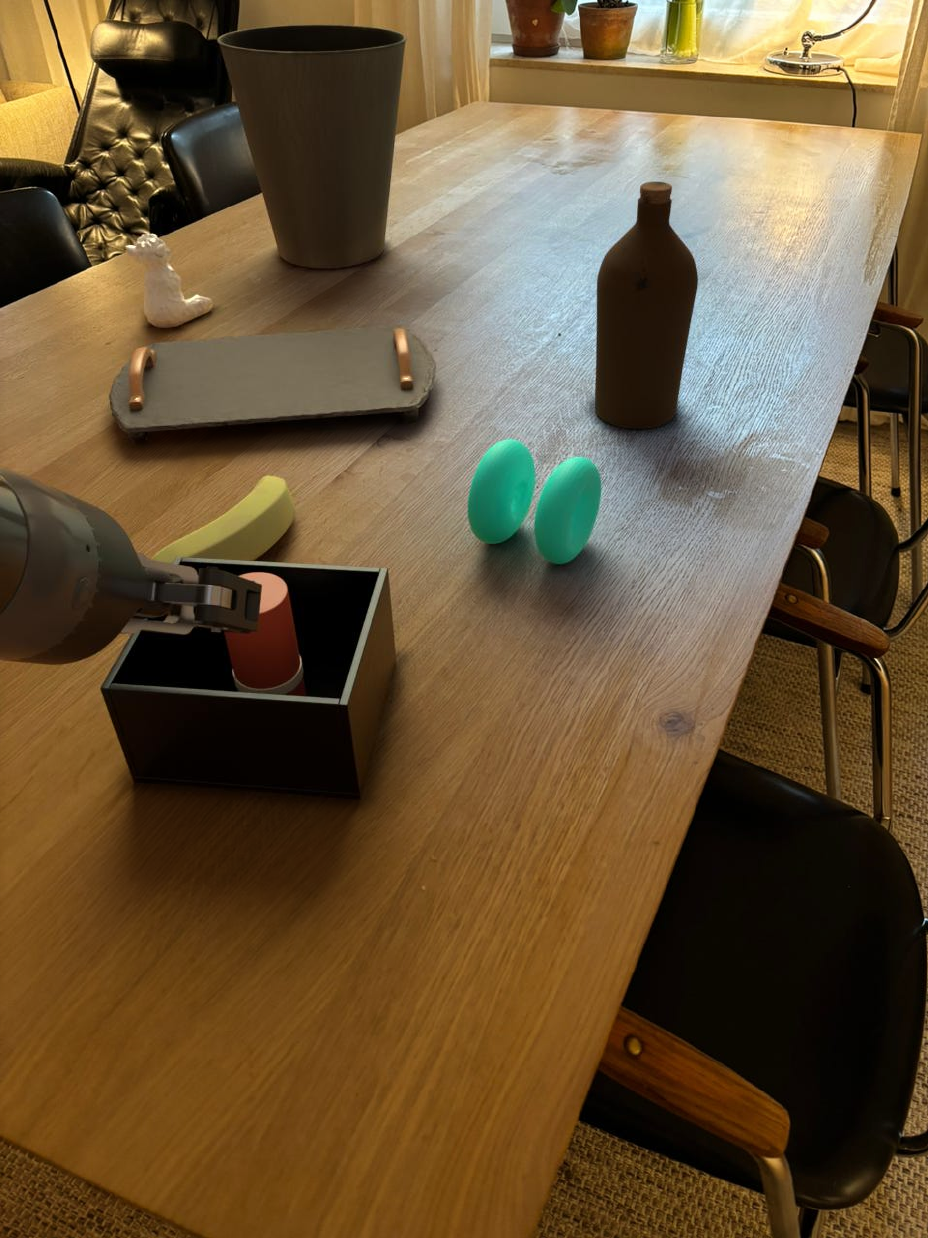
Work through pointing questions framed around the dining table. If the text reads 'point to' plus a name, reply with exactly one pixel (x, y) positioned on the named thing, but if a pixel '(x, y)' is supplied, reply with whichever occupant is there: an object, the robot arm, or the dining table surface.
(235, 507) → the banana
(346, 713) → the bin
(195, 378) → the serving tray
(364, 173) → the waste basket
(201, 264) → the dining table surface
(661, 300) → the olive oil
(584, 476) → the green wheel pair
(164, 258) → the white creature statuette
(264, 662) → the striped red cylinder
